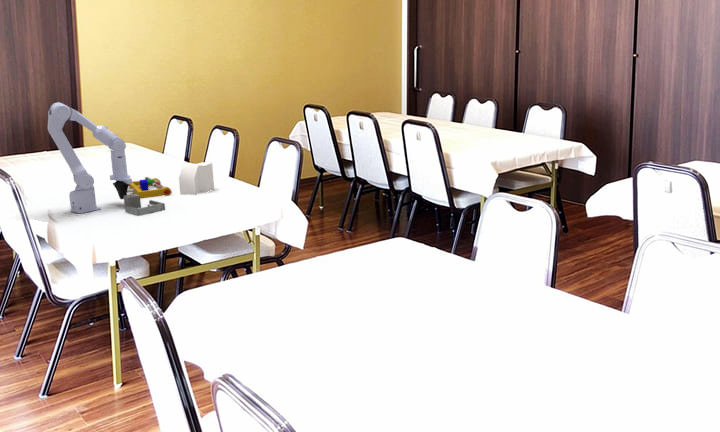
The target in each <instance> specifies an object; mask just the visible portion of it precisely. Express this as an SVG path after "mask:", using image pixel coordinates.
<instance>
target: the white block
mask: <svg viewBox="0 0 720 432" xmlns="http://www.w3.org/2000/svg"><path fill="white" fill-rule="evenodd" d="M181 167H182V168H181V170H180V173H179V175H178V176H179V177H178V183H179V192H180V193H179V194H180V195H187V194H196V195H198V194H200V193H206V192H208V191H210V190H212V189H214V190H215V184H214V183H215V180H214V179H215V178H214V171H213V162H199V163H185V164H183V165H182V166H181ZM212 191H213V190H212ZM199 192H200V193H199ZM210 192H211V191H210ZM197 193H198V194H197ZM208 193H209V192H208Z"/></svg>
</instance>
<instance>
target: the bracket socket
mask: <svg viewBox="0 0 720 432" xmlns="http://www.w3.org/2000/svg"><path fill="white" fill-rule="evenodd" d="M148 203H149V204H147V206H145V207H141V208H135V207H131V206H128V205H126V206H125V205H124V210H125V211H124V212H125V213H128V214H132V215H135V216H143V215H148V214H152V213H156V212H161V211H165V210H166V205H165V204H166V203H164V202H160V201H156V200H152V199H150V200H148Z"/></svg>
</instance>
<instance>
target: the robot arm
mask: <svg viewBox="0 0 720 432" xmlns="http://www.w3.org/2000/svg"><path fill="white" fill-rule="evenodd" d="M47 113H48V114H47V115H48V118H47V131H48V133H49V135H50V136H51V138H52V140H53V142H54V144H55V145H56V146H57V149H58V150H59V152H60V154H61V155H62V157H63V158H64V161H65V162H66V164H67V165H68V167H69V169H70V172H71V173H72V176H73V181H74V183H75V185H76V186H75V188H74V189H75V190H71V191H70V192H69V196H68V197H69V198H68V199H69V203H70V204H69V205H70V212H73V213H76V214H84V213H88V212H93V211H98V210H101V209H102V207H99V206H97V201H96V190H95V186H94V184H95V180H94V177H93V175H91V174H89V172H88V171H87V169H86V168H85V167H84V165H83V164H82V162H81V160H80V159H79V157H78V155H77V154H76V152H75V150H74V149H73V147H72V145H71V144H70V141H69V140H68V137H67V136H66V135H65V132H64V131H63V128H64V125H65V123H66V122H67V121H73V122H77V123H78V124H80V125H81V126H83V127H84V128H85V129H88V130H89V131H91V132H92V137H93V138H95V139H96V140H97V141H99V142H100V143H102V144H103V145H104V146H107V147H108V149H110V159H111V168H112V174H110V175H109V180H110V181H115V182H113V183H112V185H113V186H114V188H115V189H116V192H117V195H118V197H119V199H120V200H124V196H125V195H128V193H127V190H128V189H129V184H131V183H132V182H133V179H132V178H131V175H130V174H129V175H128V168H127V166H128V165H127V159H126V151H125V150H126V148H127V144H126V142H125V140H123V139H122V138H120V136H118V134H117V133H114V132H112V131H111V130H109V127H107V126H106V125H100V124H99V125H98V124H95V123H94V122H93V121H91V120H90V119H88V118H87V116H85V115H84V114H82V113H80V111H78V110H77V109H73V108H72V107H69V106H68V105H66V104H64V103H63V102H59V101H58V102H54V103H52V105H50V107H49V109H48V112H47Z"/></svg>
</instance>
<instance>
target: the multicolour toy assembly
mask: <svg viewBox="0 0 720 432" xmlns="http://www.w3.org/2000/svg"><path fill="white" fill-rule="evenodd" d="M149 187H153V188H155V189H149ZM129 193H132V194H137V195H139V196H140V200H141V199H149V198H153V197H154V198H157V197H163V195H164V196H171V195H172V193H173V192H172V189H171V188H170V187H169V186H163V185H162V183H161V181H160V179H158V178H157V177H154V178H150V177H148V176H145V177H144V179H139V180H135V181H133V180H132V183H131V184H129V187H128V190H127V194H129ZM170 194H171V195H170Z"/></svg>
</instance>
